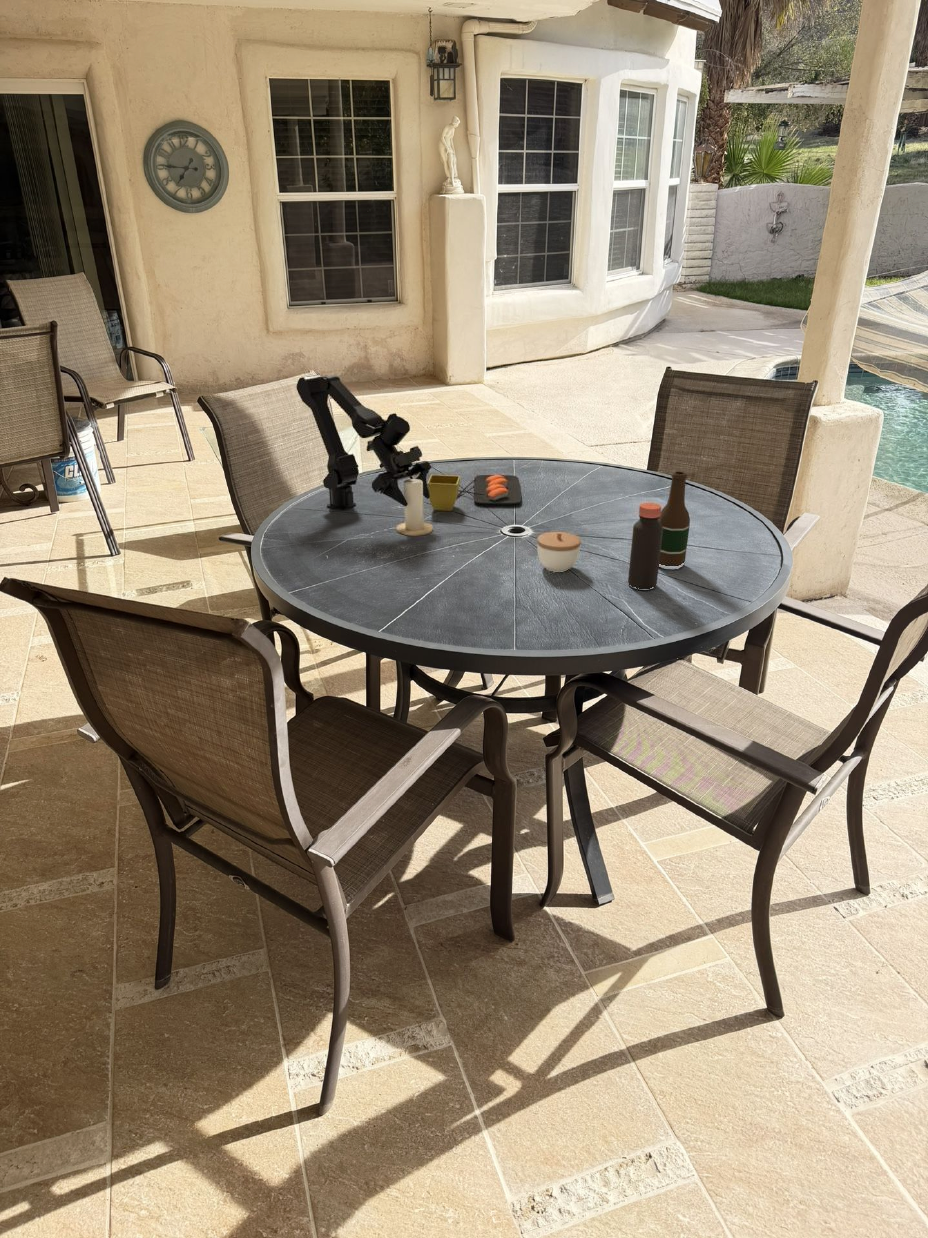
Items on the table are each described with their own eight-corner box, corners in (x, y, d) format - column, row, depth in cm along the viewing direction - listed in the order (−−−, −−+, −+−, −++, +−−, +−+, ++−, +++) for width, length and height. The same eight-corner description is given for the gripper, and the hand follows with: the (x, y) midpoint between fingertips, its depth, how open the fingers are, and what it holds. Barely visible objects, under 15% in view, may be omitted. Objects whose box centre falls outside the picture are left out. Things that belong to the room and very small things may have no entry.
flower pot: (460, 504, 261) (460, 475, 257) (457, 513, 254) (457, 484, 250) (431, 503, 262) (431, 474, 258) (427, 512, 254) (427, 482, 250)
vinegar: (650, 593, 203) (659, 512, 194) (623, 587, 206) (630, 507, 198) (660, 583, 208) (669, 504, 199) (634, 577, 211) (641, 499, 203)
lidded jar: (550, 579, 210) (552, 543, 206) (527, 564, 219) (529, 529, 215) (587, 571, 215) (589, 536, 211) (563, 557, 223) (565, 523, 219)
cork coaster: (389, 531, 240) (389, 529, 239) (410, 521, 247) (410, 519, 247) (419, 538, 235) (419, 536, 235) (439, 527, 243) (439, 525, 242)
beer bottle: (685, 561, 221) (697, 470, 211) (682, 572, 215) (694, 478, 204) (655, 557, 224) (665, 466, 213) (651, 568, 217) (661, 475, 206)
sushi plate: (521, 509, 259) (522, 496, 258) (421, 507, 260) (421, 495, 258) (518, 480, 286) (518, 469, 284) (427, 479, 286) (427, 468, 284)
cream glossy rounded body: (403, 529, 239) (401, 483, 234) (407, 523, 244) (405, 478, 238) (421, 530, 238) (420, 484, 233) (425, 524, 243) (424, 479, 237)
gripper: (377, 444, 226) (408, 493, 225) (426, 431, 239) (456, 478, 237) (358, 468, 234) (388, 515, 233) (406, 454, 247) (435, 499, 245)
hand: (417, 501), depth 237 cm, fingers open, 8 cm apart
